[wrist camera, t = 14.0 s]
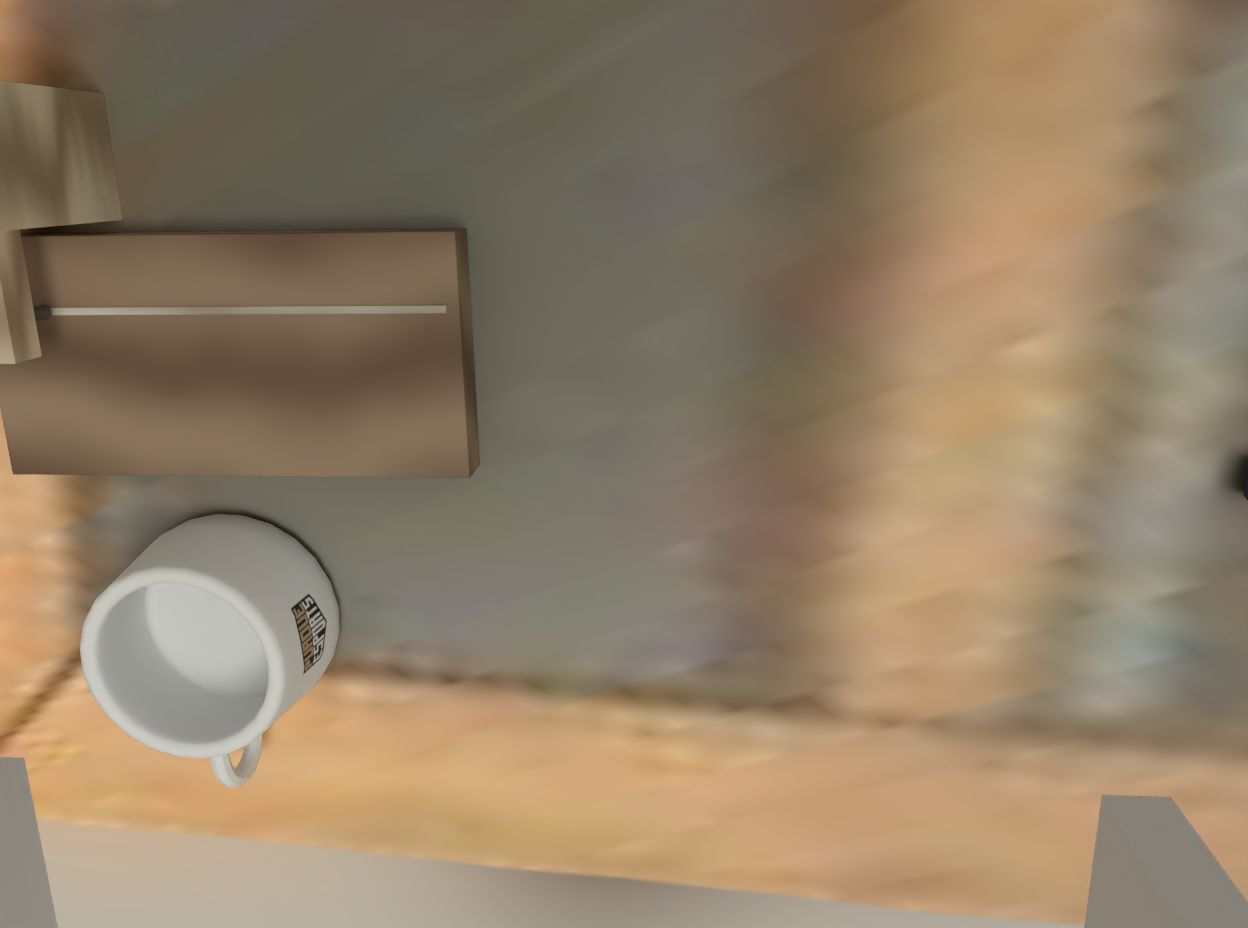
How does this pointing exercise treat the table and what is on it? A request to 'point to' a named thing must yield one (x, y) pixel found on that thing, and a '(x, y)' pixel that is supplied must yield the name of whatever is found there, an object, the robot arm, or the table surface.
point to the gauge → (46, 190)
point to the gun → (1246, 488)
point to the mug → (210, 639)
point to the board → (247, 355)
